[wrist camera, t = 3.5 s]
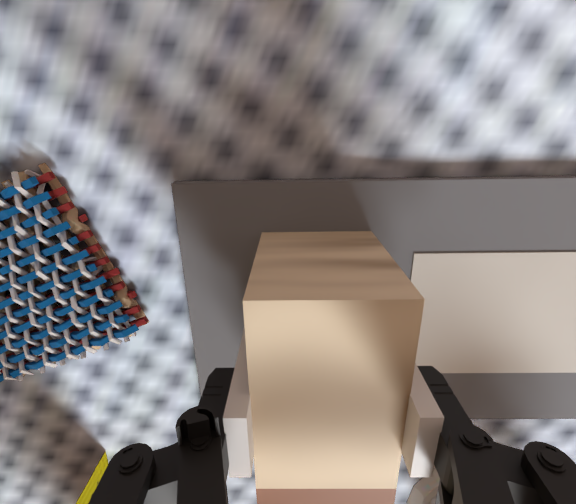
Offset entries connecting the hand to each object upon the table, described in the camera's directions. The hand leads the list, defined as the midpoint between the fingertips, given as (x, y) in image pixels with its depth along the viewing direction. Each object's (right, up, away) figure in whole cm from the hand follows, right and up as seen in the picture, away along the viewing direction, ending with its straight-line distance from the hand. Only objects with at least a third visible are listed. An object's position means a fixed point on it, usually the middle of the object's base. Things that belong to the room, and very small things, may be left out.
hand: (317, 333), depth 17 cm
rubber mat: (+5, +1, +2) cm, 6 cm away
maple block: (0, +1, +1) cm, 2 cm away
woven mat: (-16, +3, +2) cm, 16 cm away
